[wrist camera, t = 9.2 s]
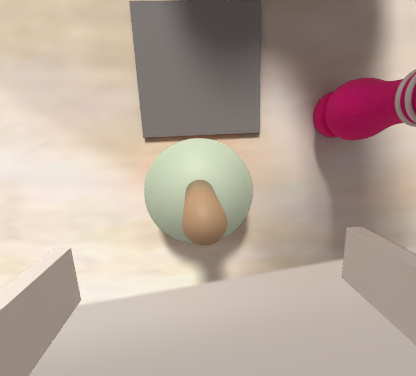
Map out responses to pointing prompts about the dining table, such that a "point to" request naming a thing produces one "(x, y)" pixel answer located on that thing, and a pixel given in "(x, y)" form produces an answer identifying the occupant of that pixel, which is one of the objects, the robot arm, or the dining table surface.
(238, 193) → the plunger
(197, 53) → the mat
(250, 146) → the dining table surface
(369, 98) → the pepper mill
